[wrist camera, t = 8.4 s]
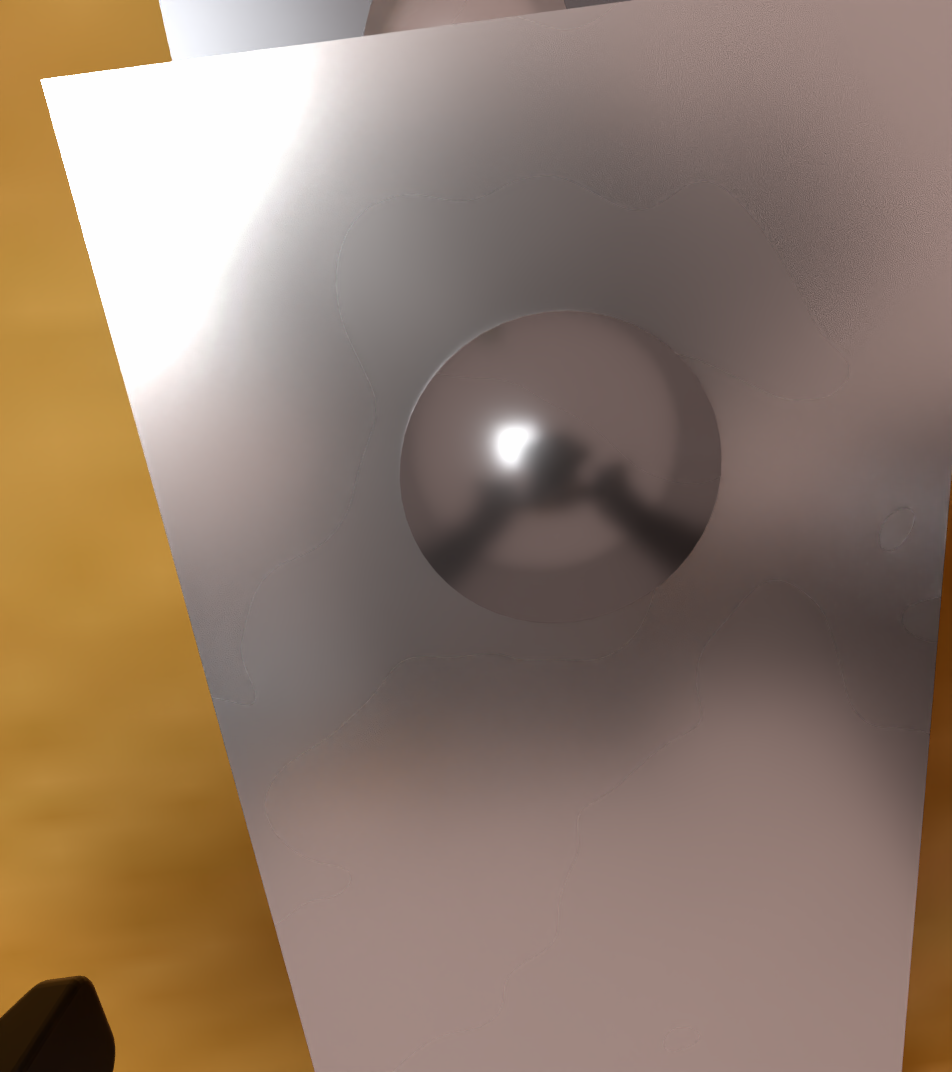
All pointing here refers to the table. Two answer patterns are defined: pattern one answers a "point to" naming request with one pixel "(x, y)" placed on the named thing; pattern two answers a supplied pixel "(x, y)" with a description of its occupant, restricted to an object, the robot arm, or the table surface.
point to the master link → (557, 509)
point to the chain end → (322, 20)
